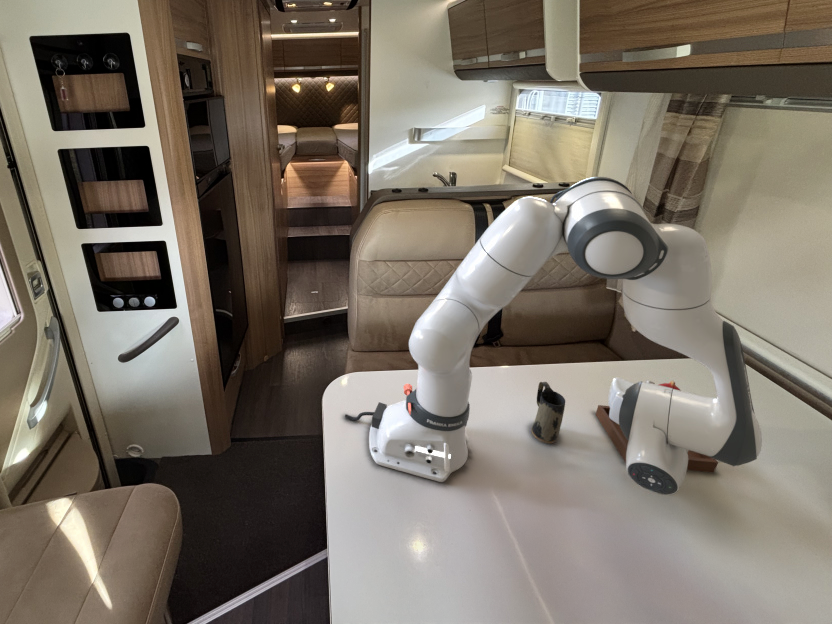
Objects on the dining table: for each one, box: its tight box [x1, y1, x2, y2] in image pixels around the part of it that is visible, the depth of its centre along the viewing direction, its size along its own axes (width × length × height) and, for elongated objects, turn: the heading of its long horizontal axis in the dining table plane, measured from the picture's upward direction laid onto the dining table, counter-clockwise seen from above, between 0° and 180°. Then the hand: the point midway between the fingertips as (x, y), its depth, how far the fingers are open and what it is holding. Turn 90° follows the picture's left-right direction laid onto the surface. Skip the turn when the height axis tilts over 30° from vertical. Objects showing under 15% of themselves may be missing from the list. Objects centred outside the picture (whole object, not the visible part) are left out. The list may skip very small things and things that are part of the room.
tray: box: [595, 404, 719, 474], centre depth 99 cm, size 18×15×3 cm
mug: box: [531, 381, 566, 444], centre depth 100 cm, size 8×6×12 cm
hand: (669, 390), depth 94 cm, fingers closed on onion, 6 cm apart
